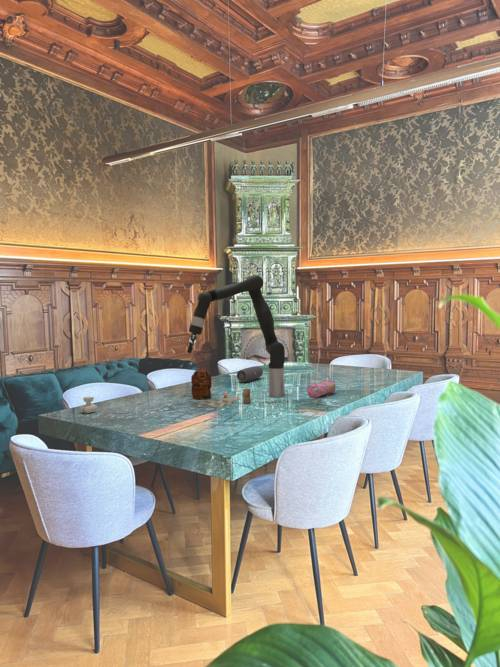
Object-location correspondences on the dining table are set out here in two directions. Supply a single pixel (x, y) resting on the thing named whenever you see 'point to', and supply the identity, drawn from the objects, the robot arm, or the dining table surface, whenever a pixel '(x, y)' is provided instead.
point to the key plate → (229, 397)
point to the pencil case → (321, 388)
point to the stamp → (88, 405)
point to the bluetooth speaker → (249, 374)
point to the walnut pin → (246, 396)
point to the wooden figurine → (201, 384)
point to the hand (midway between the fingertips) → (189, 352)
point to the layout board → (216, 403)
